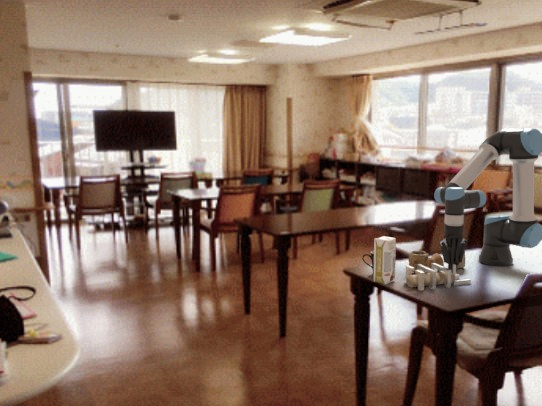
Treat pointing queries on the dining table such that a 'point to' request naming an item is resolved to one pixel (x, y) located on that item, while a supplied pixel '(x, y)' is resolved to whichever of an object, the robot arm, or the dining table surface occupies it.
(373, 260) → the coffee mug
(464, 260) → the carving
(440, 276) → the dowel
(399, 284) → the dining table surface
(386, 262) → the juice carton
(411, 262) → the pipe
